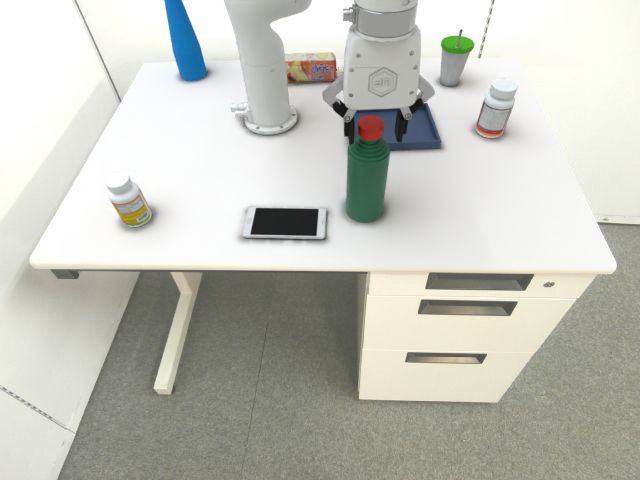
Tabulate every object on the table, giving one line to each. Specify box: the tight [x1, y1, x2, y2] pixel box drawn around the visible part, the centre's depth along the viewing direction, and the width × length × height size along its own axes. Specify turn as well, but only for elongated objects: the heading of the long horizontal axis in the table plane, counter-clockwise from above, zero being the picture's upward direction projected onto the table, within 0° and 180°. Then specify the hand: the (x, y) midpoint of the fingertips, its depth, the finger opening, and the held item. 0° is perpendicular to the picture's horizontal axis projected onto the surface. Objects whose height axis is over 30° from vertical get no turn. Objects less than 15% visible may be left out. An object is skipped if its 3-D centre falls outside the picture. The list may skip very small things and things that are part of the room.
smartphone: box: [241, 206, 327, 240], centre depth 74 cm, size 8×1×15 cm
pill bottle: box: [475, 78, 519, 139], centre depth 87 cm, size 6×6×11 cm
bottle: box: [163, 0, 208, 82], centre depth 101 cm, size 7×7×30 cm
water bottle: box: [345, 137, 391, 224], centre depth 70 cm, size 7×7×18 cm
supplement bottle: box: [105, 171, 153, 228], centre depth 73 cm, size 5×5×10 cm
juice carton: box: [285, 51, 337, 83], centre depth 106 cm, size 21×7×7 cm, turn 91°
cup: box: [439, 29, 476, 88], centre depth 100 cm, size 8×8×15 cm
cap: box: [357, 116, 384, 140], centre depth 63 cm, size 4×4×2 cm
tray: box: [354, 102, 442, 152], centre depth 92 cm, size 19×15×2 cm
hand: (374, 137), depth 63 cm, fingers open, 6 cm apart
